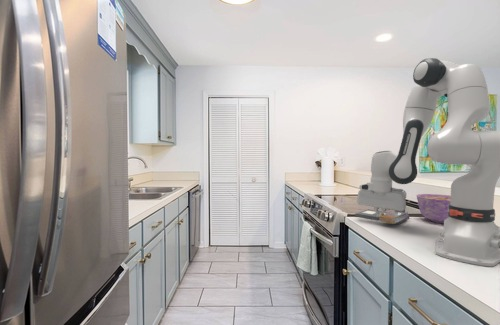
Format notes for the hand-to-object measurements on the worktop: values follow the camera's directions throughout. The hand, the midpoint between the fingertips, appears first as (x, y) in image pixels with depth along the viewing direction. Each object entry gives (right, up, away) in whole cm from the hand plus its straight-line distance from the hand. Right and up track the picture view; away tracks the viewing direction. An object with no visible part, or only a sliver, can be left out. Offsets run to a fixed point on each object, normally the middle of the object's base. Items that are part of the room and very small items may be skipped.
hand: (380, 217), depth 127 cm
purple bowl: (+31, -3, +5) cm, 32 cm away
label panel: (+7, -3, +13) cm, 15 cm away
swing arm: (+7, -1, +1) cm, 7 cm away
